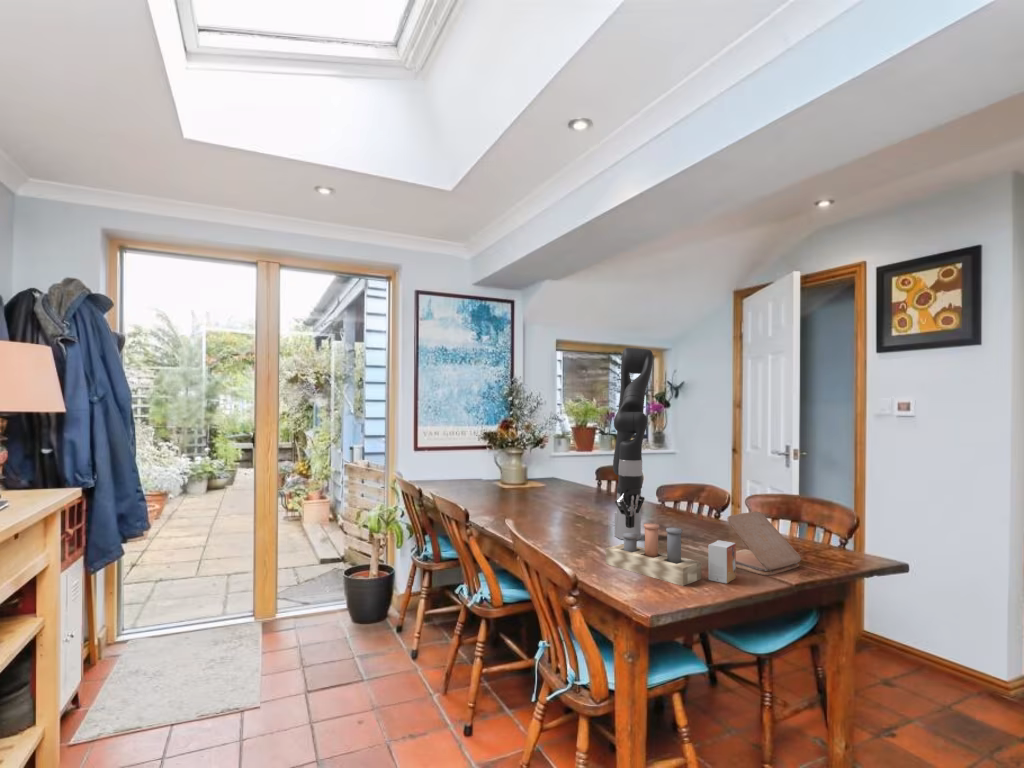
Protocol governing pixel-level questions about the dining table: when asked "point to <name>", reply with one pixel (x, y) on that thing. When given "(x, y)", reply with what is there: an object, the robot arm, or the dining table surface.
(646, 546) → the plug mid
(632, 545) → the plug left
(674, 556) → the plug right
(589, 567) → the dining table surface
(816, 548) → the dining table surface
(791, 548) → the case
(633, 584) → the dining table surface
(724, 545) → the small box
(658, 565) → the socket block
